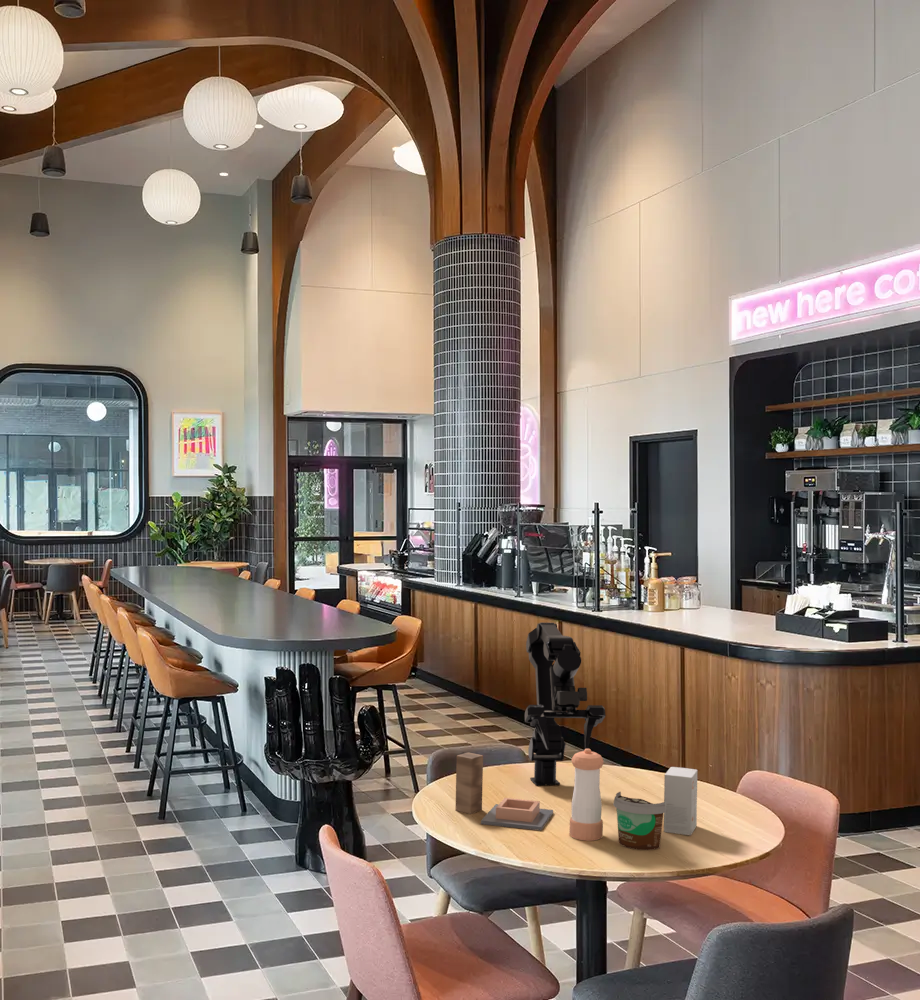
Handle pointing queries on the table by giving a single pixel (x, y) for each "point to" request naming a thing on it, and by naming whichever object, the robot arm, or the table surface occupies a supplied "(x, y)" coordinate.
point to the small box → (680, 800)
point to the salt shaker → (586, 797)
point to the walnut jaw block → (469, 782)
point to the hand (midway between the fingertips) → (567, 749)
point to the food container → (639, 822)
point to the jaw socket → (518, 814)
